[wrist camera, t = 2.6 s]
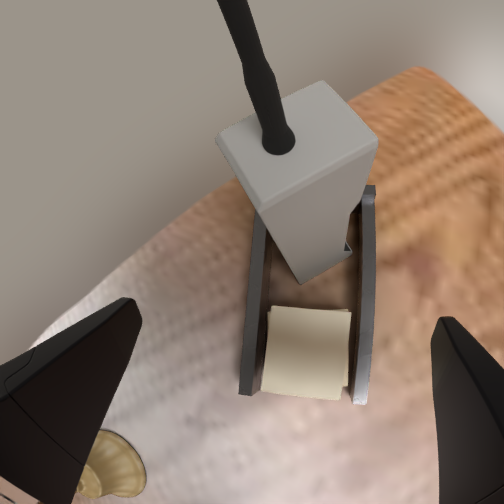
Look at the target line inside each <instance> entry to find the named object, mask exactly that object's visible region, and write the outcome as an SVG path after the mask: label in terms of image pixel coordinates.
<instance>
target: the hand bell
mask: <svg viewBox="0 0 504 504" xmlns="http://www.w3.org/2000/svg"><path fill="white" fill-rule="evenodd" d="M145 483H146V474H145V470H144V466H143V464H142V461H141V460H140V458H139V456H138V454H137V453H136V452H135V450H134V449H133V448H132V447H131V446H130V445H129V444H128V443H127V442H126V441H125V440H124V439H122V438H121V437H119V436H118V435H116V434H114V433H111V432H108V431H103V430H100V431H99V432H98V434H97V437H96V439H95V442H94V444H93V447H92V449H91V452H90V454H89V457H88V459H87V462H86V464H85V466H84V470H83V473H82V475H81V478H80V481H79V483H78V486H77V489H76V492H75V493H77V492H79V493H81V494H82V495H83V496H85V497H88V498H91V499H96V498H99V497H102V496H105V495H108V494H113V495H116V496H119V497H134V496H137V495H138V494H140V493H141V492H142V491H143V489H144V487H145ZM38 504H44V503H42V502H39V503H38Z"/></svg>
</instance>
